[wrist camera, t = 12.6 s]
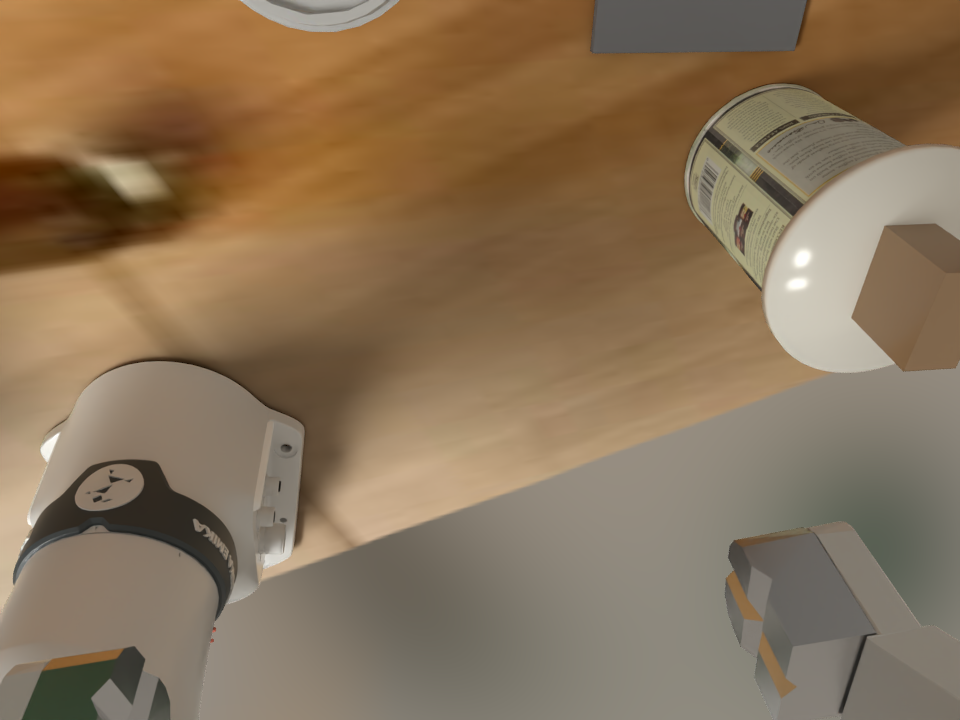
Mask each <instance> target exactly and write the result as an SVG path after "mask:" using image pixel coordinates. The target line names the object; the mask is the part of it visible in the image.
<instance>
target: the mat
mask: <svg viewBox="0 0 960 720" xmlns="http://www.w3.org/2000/svg"><path fill="white" fill-rule="evenodd" d="M806 2H807V0H595V8H594V19H593V29H592V40H591V50H590V51H591V52H592V53H663V52H742V51H794V50H795V46H796V42H797V38H798V34H799V30H800V26H801V22H802V18H803V14H804V10H805V6H806Z"/></svg>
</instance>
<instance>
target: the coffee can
mask: <svg viewBox="0 0 960 720" xmlns="http://www.w3.org/2000/svg"><path fill="white" fill-rule="evenodd" d="M905 146H906V145H904V144H902V143H901V142H899V141H897V140H895V139H894V138H892V137H890V136H888V135H886V134H885V133H883V132H881V131H880V130H878V129H876V128H874V127H872V126H871V125H869V124H868V123H866V122H864V121H862V120H860V119H858V118H857V117H855V116H853V115H851V114H849V113H848V112H846V111H844V110H842V109H841V108H839V107H837V106H835V105H833V104H832V103H830V102H828V101H826V100H825V99H823V98H822V97H821V96H820V95H818V94H817V93H815V92H814V91H812V90H810V89H808V88H805V87H803V86H800V85H795V84H771V85H765V86H762V87H758V88H755V89H752V90H750V91H747V92H746V93H744V94H742V95H740V96H737V97H735V98H734V99H733V100H731V101H730V102H729V103H727V104H726V105H725V106H723V107H722V108H721V109H720V110H719V111H718V112H716V113H715V114H714V115H713V116H712V117H711V118H710V119H709V121H708V122H707V123H706V124H705V126H704V127H703V128H702V130H701V131H700V133H699V134H698V136H697V138H696V139H695V141H694V143H693V145H692V147H691V150H690V153H689V156H688V160H687V163H686V169H685V177H684V180H685V192H686V197H687V200H688V204H689V206H690V208H691V210H692V211H693V213H694V215H695V216H696V217H697V219H698V220H699V221H700V222H701V223H702V224H704V225H705V226H706V227H707V228H708V230H709V231H710V232H711V233H712V235H713V236H714V237H715V238H716V239H717V240H718V241H719V242H720V244H721V245H722V246H723V247H724V248H725V249H726V251H727V252H728V253H729V254H730V255H731V256H732V258H733V259H734V260H735V261H736V262H737V263H738V265H739V266H740V267H741V268H742V269H743V270H744V272H745V273H746V274H747V275H748V277H749V278H750V279H751V280H752V281H753V282H754V284H755V285H756V286H757V287H758V288H759V289H760V291H761V292H762V282H763V277H764V272H765V268H766V265H767V263H768V260H769V257H770V254H771V252H772V250H773V248H774V246H775V244H776V242H777V240H778V238H779V237H780V235H781V233H782V232H783V230H784V229H785V227H786V225H787V224H788V223H789V222H790V220H791V219H792V218H793V216H794V215H795V214H796V212H797V211H798V210H799V209H800V208H801V207H802V206H803V205H804V204H805V203H806V202H807V201H808V200H809V198H810V197H812V196H813V195H814V194H815V193H816V192H817V191H818V190H820V189H821V188H822V187H823V186H824V185H825V184H827V183H828V182H830V181H831V180H832V179H834V178H835V177H836V176H838V175H839V174H841V173H842V172H844V171H846V170H847V169H849V168H851V167H852V166H854V165H856V164H857V163H860V162H862V161H864V160H866V159H868V158H870V157H873V156H875V155H877V154H880V153H883V152H886V151H889V150H892V149H896V148H900V147H905Z"/></svg>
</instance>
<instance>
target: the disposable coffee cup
mask: <svg viewBox="0 0 960 720" xmlns="http://www.w3.org/2000/svg"><path fill="white" fill-rule="evenodd" d="M240 1H242V2H243V3H244V4H246V5H247V6H248V7H250V8H251V9H252V10H254V11H256V12H257V13H259V14H261V15H263V16H264V17H266V18H268V19H270V20H273V21H275V22H277V23H280V24H282V25H285V26H287V27H291V28H296V29H301V30H306V31H311V32H337V31H341V30H345V29H349V28H354V27H358V26H361V25H363V24H365V23H367V22H369V21H371V20H373V19H375V18H377V17H379V16H381V15H382V14H383V13H385V12H386V11H387V10H389V9H390V8H391V7H392V6H394V5H395V4H396V3H397V2H398V1H399V0H240Z"/></svg>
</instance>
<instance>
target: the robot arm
mask: <svg viewBox="0 0 960 720" xmlns="http://www.w3.org/2000/svg"><path fill="white" fill-rule="evenodd" d="M304 436H305V430H304V427H303V425H302V424H301V423H300V422H299V421H297V420H295V419H294V418H292V417H289V416H287V415H285V414H282V413H280V412H277V411H275V410H272V409H269V408H268V407H266V406H265V405H263V404H262V403H261V402H259V401H258V400H257V399H256V398H255V397H254V396H253V395H251V394H250V393H249V392H248V391H247V390H245V389H244V388H243V387H241V386H240V385H239V384H237V383H235V382H234V381H232V380H230V379H229V378H227V377H225V376H223V375H221V374H218V373H216V372H213V371H211V370H208V369H205V368H202V367H198V366H194V365H190V364H185V363H178V362H168V361H151V362H141V363H135V364H130V365H126V366H122V367H119V368H117V369H114V370H112V371H109V372H107V373H105V374H103V375H102V376H100V377H99V378H97V379H96V380H94V381H93V382H92V383H91V384H90V385H88V386H87V387H86V389H85V390H84V391H83V392H82V393H81V395H80V396H79V398H78V400H77V402H76V404H75V406H74V408H73V410H72V413H71V414H70V416H69V417H68V419H67V420H66V421H64V422H63V423H61V424H60V425H58V426H57V427H55V428H54V429H52V430H51V431H50V432H49V433H48V434H47V435H46V436H45V437H44V439H43V442H42V445H41V448H40V452H41V454H42V456H43V458H44V459H45V460H46V462H47V465H46V468H45V470H44V473H43V475H42V478H41V480H40V483H39V486H38V488H37V491H36V493H35V496H34V498H33V501H32V504H31V506H30V509H29V512H28V516H27V521H28V524H29V525H31V526H32V528H33V529H31V530H30V532H29V534H28V536H27V537H26V539H25V541H24V543H23V545H22V547H21V551H20V554H19V557H18V558H19V559H18V561H17V563H16V566H15V569H14V573H13V584H14V587H13V589H12V591H11V593H10V595H9V597H8V599H7V601H6V603H5V605H4V607H3V609H2V611H1V613H0V720H199V712H200V704H201V697H202V690H203V683H204V677H205V670H206V665H207V658H208V653H209V647H210V643H211V642H214V640H213V639H211V636H212V633H213V632H215V631H216V628H215V627H214V622H215V621H216V620H217V618H218V617H219V616H220V614H221V612H222V610H223V608H224V606H225V604H229V603H233V602H235V601H238V600H241V599H243V598H245V597H247V596H249V595H250V594H252V593H253V592H254V591H255V590H256V589H257V588H258V587H259V585H260V581H261V576H262V571H263V569H265V568H268V567H271V566H273V565H276V564H278V563H280V562H282V561H284V560H286V559H287V558H289V557H290V556H291V555H292V551H293V547H294V543H295V534H296V523H297V512H298V501H299V490H300V480H301V469H302V458H303V447H304ZM284 444H288V445H290V446H284ZM728 559H729V561H730V563H731V565H732V567H733V570H734V571H733V572H732V573H731V574H730V575H729V576H728V577H727V578H726V582H725V598H726V604H727V611H728V615H729V618H730V621H731V624H732V627H733V630H734V633H735V635H736V637H737V640H738V642H739V644H740V647H742V648H743V649H745V650H746V651H747V652H749V653H750V654H752V655H753V656H754V657H756V658H757V662H756V668H755V675H754V678H755V681H756V683H757V685H758V687H759V689H760V692H761V694H762V696H763V698H764V701H765V703H766V705H767V707H768V709H769V711H770V714H771V716H772V718H773V720H817V719H823V718H830V717H837V716H841V720H960V641H959V640H957V639H955V638H954V637H952V636H950V635H949V634H947V633H945V632H944V631H942V630H941V629H939V628H937V627H936V626H934V625H930V626H923V627H922V626H921V625H920V624H919V622H918V621H917V619H916V618H915V616H914V615H913V614H912V612H911V611H910V609H909V608H908V606H907V605H906V603H905V602H904V601H903V599H902V598H901V596H900V595H899V594H898V592H897V591H896V589H895V588H894V586H893V585H892V583H891V582H890V580H889V579H888V577H887V576H886V575H885V573H884V572H883V570H882V569H881V567H880V566H879V564H878V563H877V562H876V560H875V559H874V557H873V556H872V554H871V553H870V552H869V550H868V549H867V547H866V546H865V544H864V543H863V541H862V540H861V539H860V537H859V536H858V534H857V533H856V531H855V530H854V529H853V527H852V526H850V525H849V524H847V523H846V522H835V523H830V524H824V525H819V526H814V527H809V528H803V527H801V528H796V529H791V530H786V531H780V532H775V533H770V534H765V535H760V536H755V537H749V538H744V539H738V540H734V541H733V542H732V543H731V545H730V546H729V554H728Z"/></svg>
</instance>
